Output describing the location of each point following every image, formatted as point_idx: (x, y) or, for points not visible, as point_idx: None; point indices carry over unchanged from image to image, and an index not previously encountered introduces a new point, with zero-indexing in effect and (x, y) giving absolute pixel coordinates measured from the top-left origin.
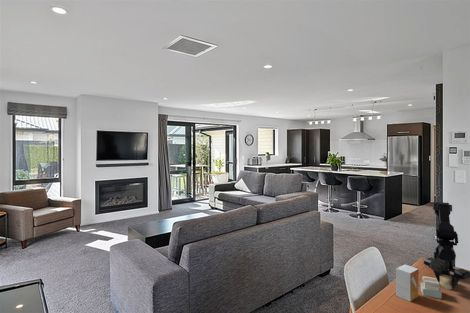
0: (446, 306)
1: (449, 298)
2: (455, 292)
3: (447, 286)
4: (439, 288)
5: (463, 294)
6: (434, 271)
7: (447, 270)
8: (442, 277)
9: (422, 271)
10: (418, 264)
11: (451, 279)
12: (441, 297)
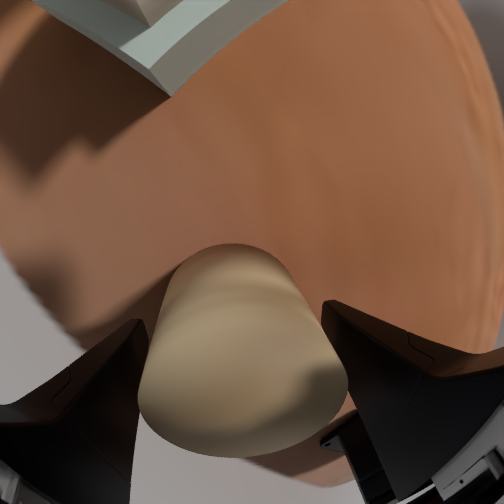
0: (2, 3)
1: (28, 101)
2: (102, 289)
3: (171, 288)
4: (68, 11)
5: (66, 321)
6: (451, 359)
7: (359, 470)
8: (255, 353)
9: (468, 335)
10: None
11: (143, 415)
12: (51, 14)
